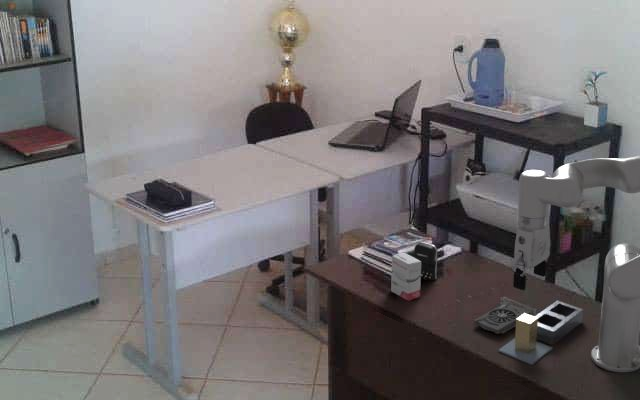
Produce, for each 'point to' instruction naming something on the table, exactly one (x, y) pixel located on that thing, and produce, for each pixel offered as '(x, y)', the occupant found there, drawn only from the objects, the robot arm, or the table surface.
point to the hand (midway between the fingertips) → (529, 281)
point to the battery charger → (427, 260)
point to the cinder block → (557, 321)
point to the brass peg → (526, 333)
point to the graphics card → (503, 316)
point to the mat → (528, 358)
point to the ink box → (406, 276)
